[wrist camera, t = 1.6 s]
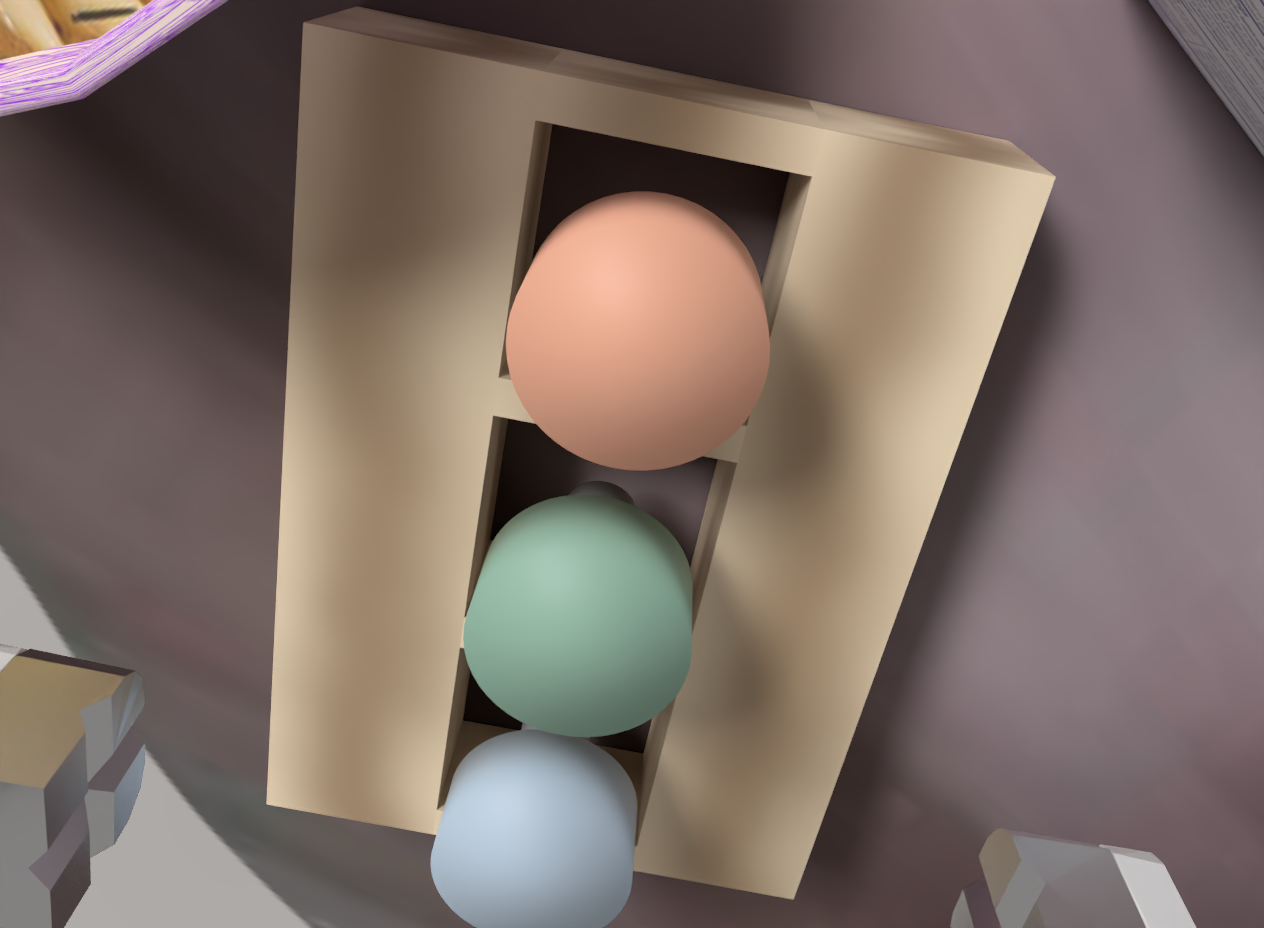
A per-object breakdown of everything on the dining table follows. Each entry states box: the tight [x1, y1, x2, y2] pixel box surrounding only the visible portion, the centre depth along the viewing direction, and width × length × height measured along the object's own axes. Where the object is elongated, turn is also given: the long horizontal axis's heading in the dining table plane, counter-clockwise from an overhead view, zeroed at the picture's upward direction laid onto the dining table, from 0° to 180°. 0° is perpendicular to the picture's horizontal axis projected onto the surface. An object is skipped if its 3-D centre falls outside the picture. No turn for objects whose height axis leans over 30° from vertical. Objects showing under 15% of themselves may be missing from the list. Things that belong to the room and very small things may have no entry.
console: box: [267, 6, 1056, 900], centre depth 30 cm, size 16×22×4 cm
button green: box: [463, 481, 693, 737], centre depth 27 cm, size 5×5×6 cm
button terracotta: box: [506, 191, 770, 471], centre depth 23 cm, size 5×5×6 cm
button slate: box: [431, 723, 637, 928], centre depth 30 cm, size 5×5×6 cm
